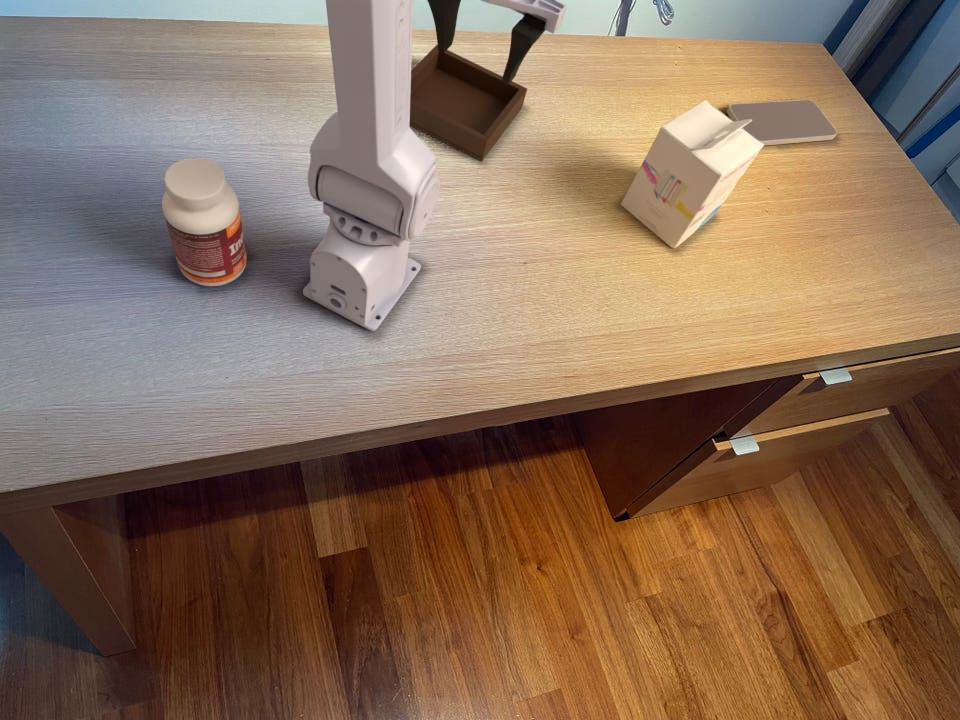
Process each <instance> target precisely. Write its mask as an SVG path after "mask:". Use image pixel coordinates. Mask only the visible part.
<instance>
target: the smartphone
mask: <svg viewBox="0 0 960 720" xmlns="http://www.w3.org/2000/svg"><path fill="white" fill-rule="evenodd" d="M726 114H727V115H728V118H729V119H731V120H732V121H733V122H736V121H741V120H747V119H752V121H751V122H750V123H748V124H747V125H745V126H744V127H742V129H744V130H745V131H746V132H748V133H749V134H750V135H752V136H753V137H754V138H756V139H757V140H759V141H760V142H761V143H763V144H764V146H774V145H787V144H797V143H798V144H799V143H809V142H820V141H832V140H834V138H835V137H836V136H837V134H838V131H837V129H836V127H835V126H834V125H833V124H832V122H831V121H830V120H829V118H827V116H826V114H824V112H823V111H822V110H821V108H820V107H819V106H818V105H817V104H816V102H815V101H813V100H811V99H793V100H791V99H790V100H775V101H773V100H772V101H761V102H760V101H759V102H758V101H757V102H741V103H740V102H739V103H731V104H730V105H729V107H728V108H727V109H726Z"/></svg>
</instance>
